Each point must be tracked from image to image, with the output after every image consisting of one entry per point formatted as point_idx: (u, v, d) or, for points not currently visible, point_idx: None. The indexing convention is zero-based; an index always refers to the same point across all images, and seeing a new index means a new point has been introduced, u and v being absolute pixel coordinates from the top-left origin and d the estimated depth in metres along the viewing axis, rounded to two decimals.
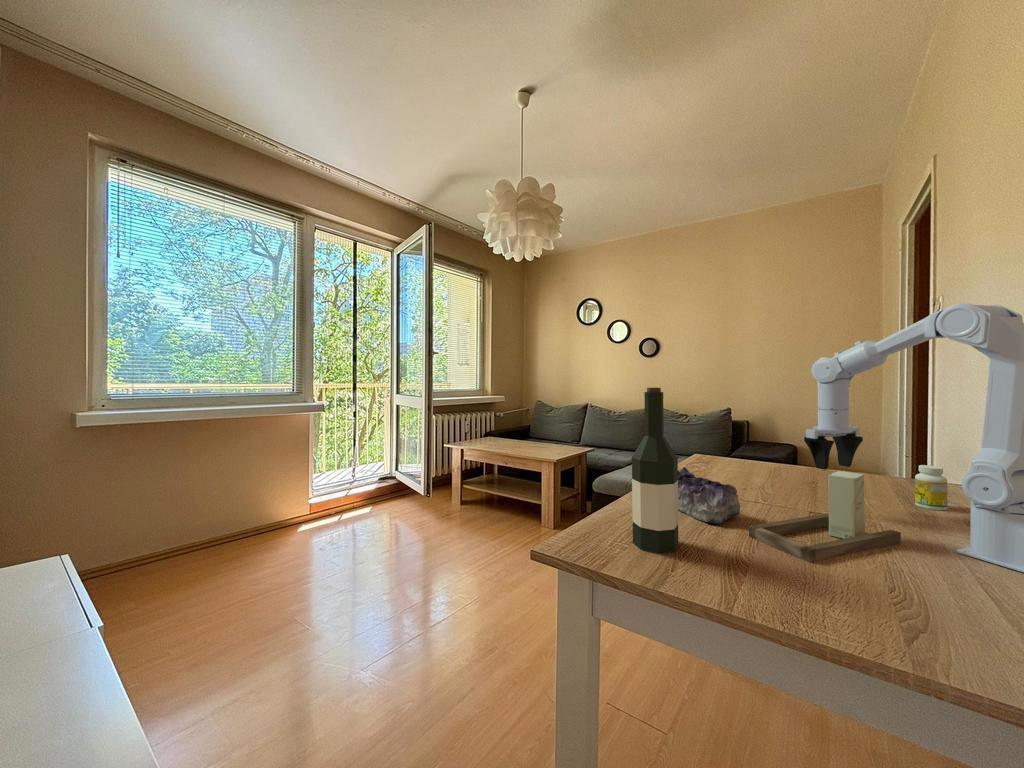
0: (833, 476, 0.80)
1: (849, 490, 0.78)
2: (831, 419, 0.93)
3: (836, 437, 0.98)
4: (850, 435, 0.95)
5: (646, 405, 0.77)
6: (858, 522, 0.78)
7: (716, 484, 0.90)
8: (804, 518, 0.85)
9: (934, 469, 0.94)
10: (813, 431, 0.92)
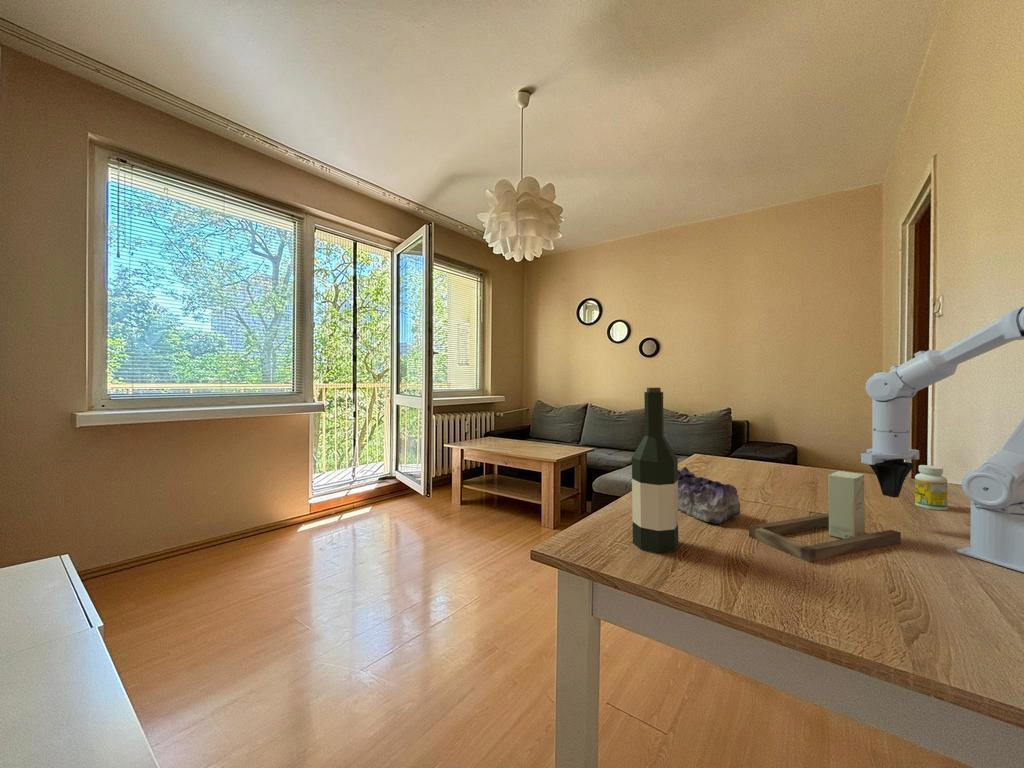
0: (833, 476, 0.80)
1: (849, 490, 0.78)
2: (890, 442, 0.82)
3: None
4: None
5: (646, 405, 0.77)
6: (858, 522, 0.78)
7: (716, 484, 0.90)
8: (804, 518, 0.85)
9: (934, 469, 0.94)
10: (870, 456, 0.81)
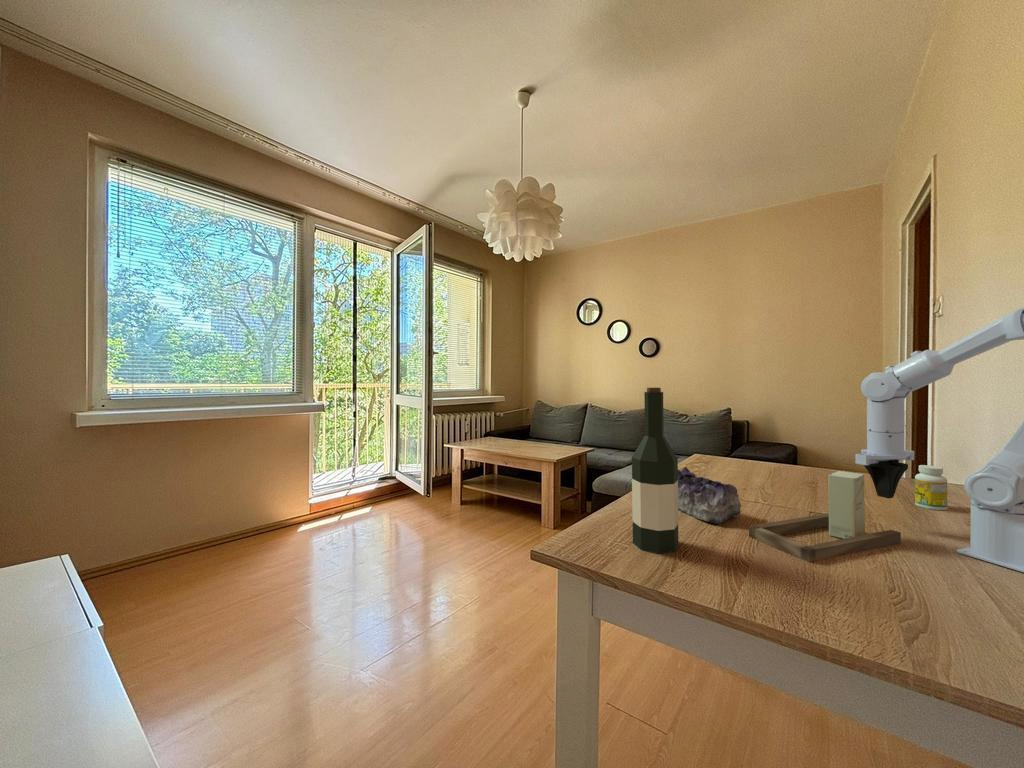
0: (833, 476, 0.80)
1: (849, 490, 0.78)
2: (884, 442, 0.82)
3: None
4: None
5: (646, 405, 0.77)
6: (858, 522, 0.78)
7: (716, 484, 0.90)
8: (804, 518, 0.85)
9: (934, 469, 0.94)
10: (864, 457, 0.81)
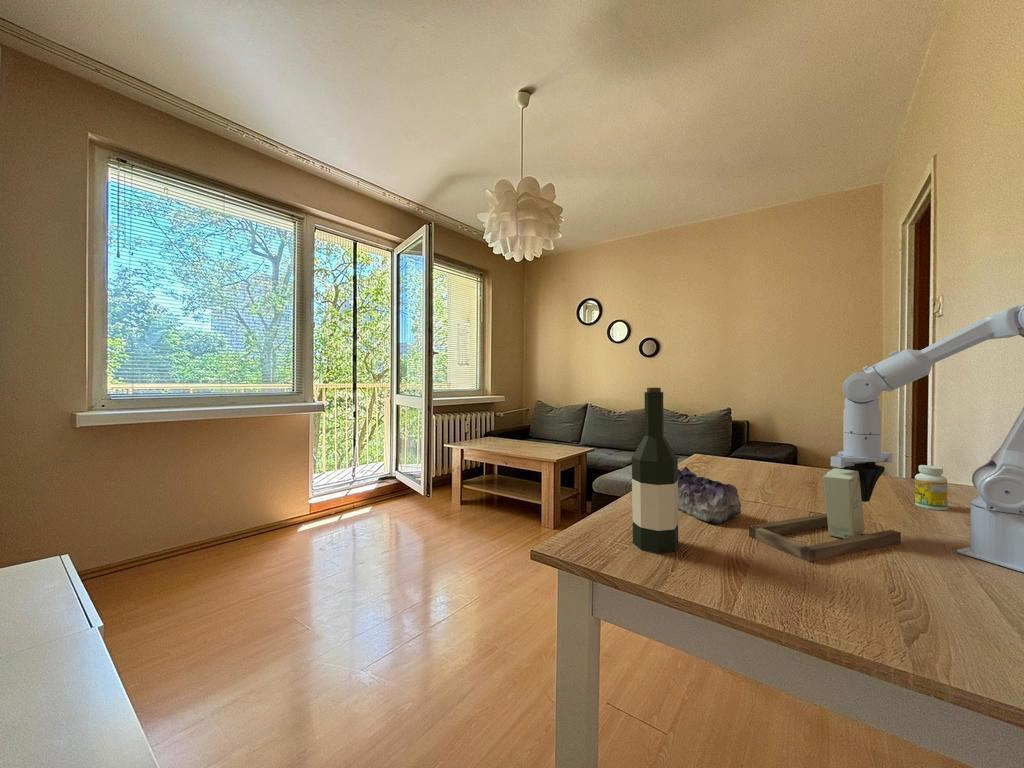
0: (828, 477, 0.79)
1: (845, 491, 0.77)
2: (860, 444, 0.80)
3: None
4: None
5: (646, 405, 0.77)
6: (857, 521, 0.78)
7: (717, 484, 0.90)
8: (804, 518, 0.85)
9: (934, 469, 0.94)
10: (839, 459, 0.79)
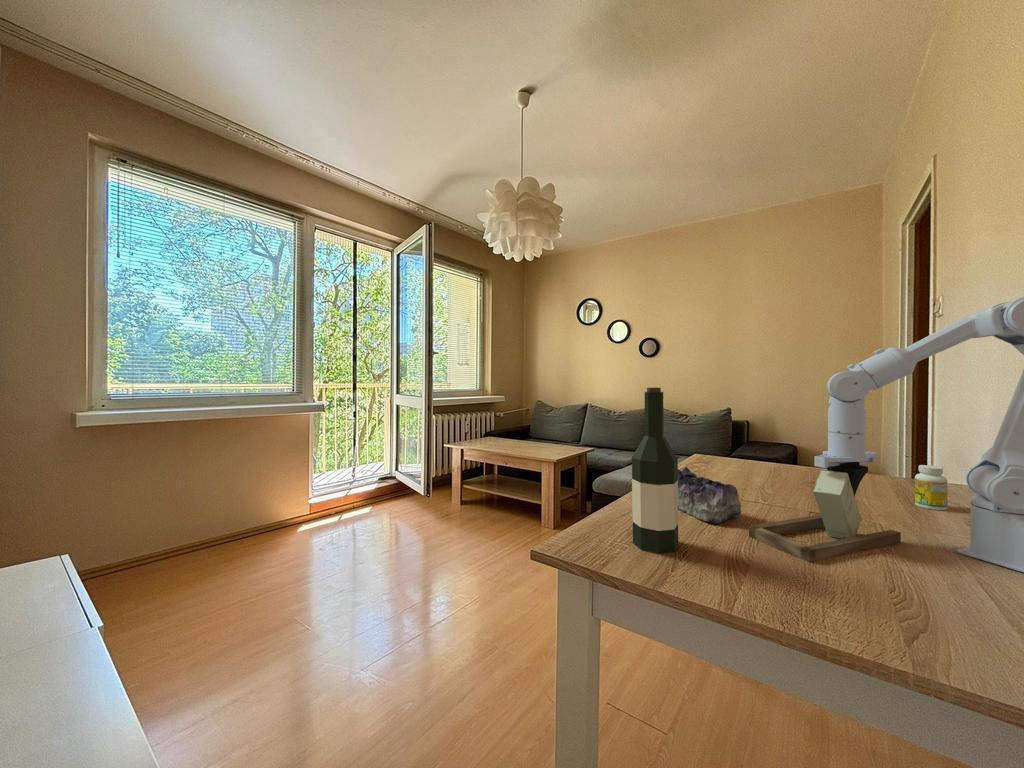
0: (818, 492, 0.76)
1: (837, 504, 0.75)
2: (844, 444, 0.78)
3: None
4: None
5: (646, 405, 0.77)
6: (853, 522, 0.77)
7: (716, 484, 0.90)
8: (804, 518, 0.85)
9: (934, 469, 0.94)
10: (823, 459, 0.77)
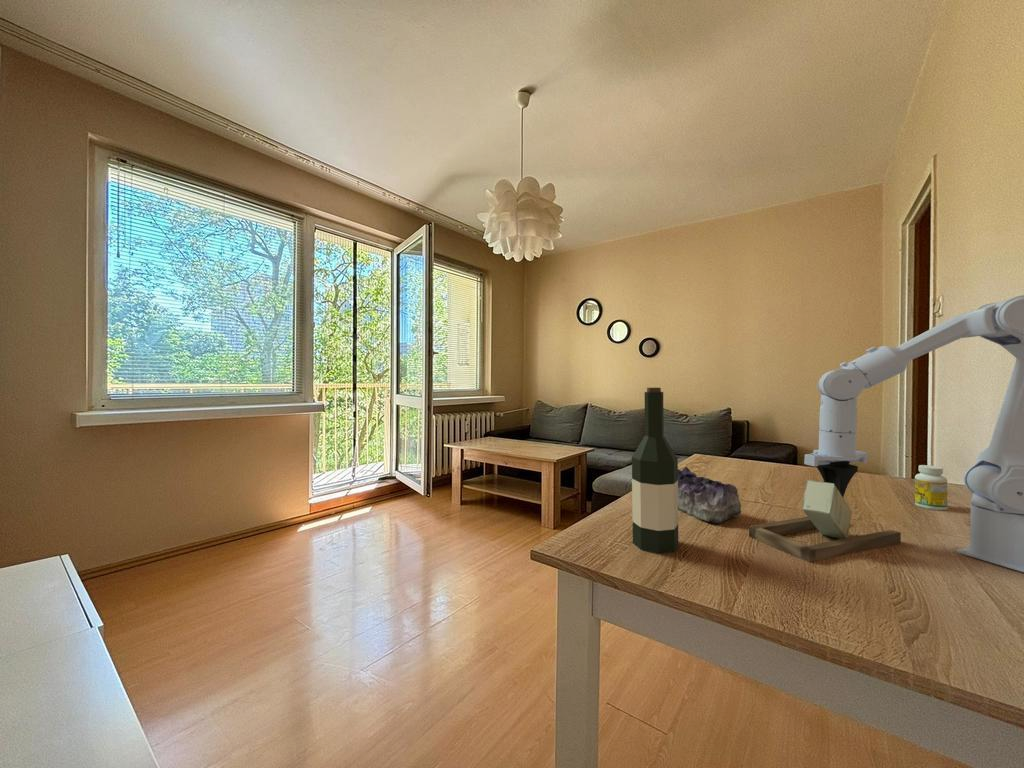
0: (807, 510, 0.75)
1: (827, 518, 0.74)
2: (835, 443, 0.77)
3: None
4: None
5: (646, 405, 0.77)
6: (844, 524, 0.77)
7: (717, 484, 0.90)
8: (804, 518, 0.85)
9: (934, 469, 0.94)
10: (813, 457, 0.77)
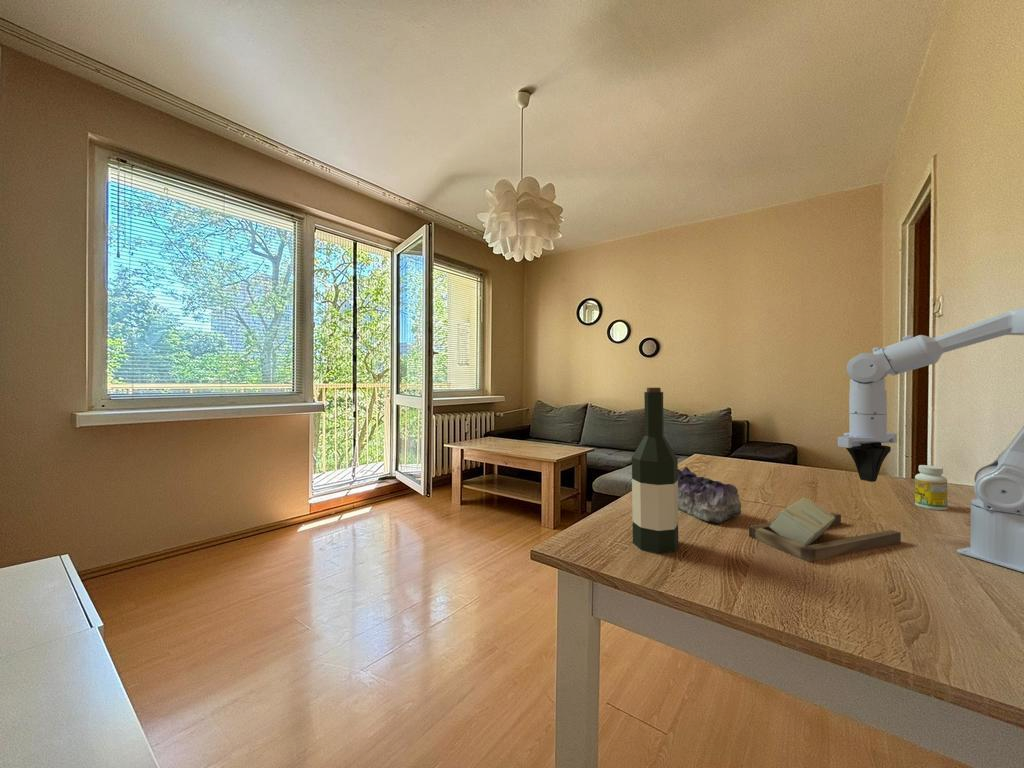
0: None
1: (816, 534, 0.74)
2: (867, 424, 0.80)
3: None
4: None
5: (646, 405, 0.77)
6: (820, 514, 0.79)
7: (717, 484, 0.90)
8: None
9: (934, 469, 0.94)
10: (847, 439, 0.79)
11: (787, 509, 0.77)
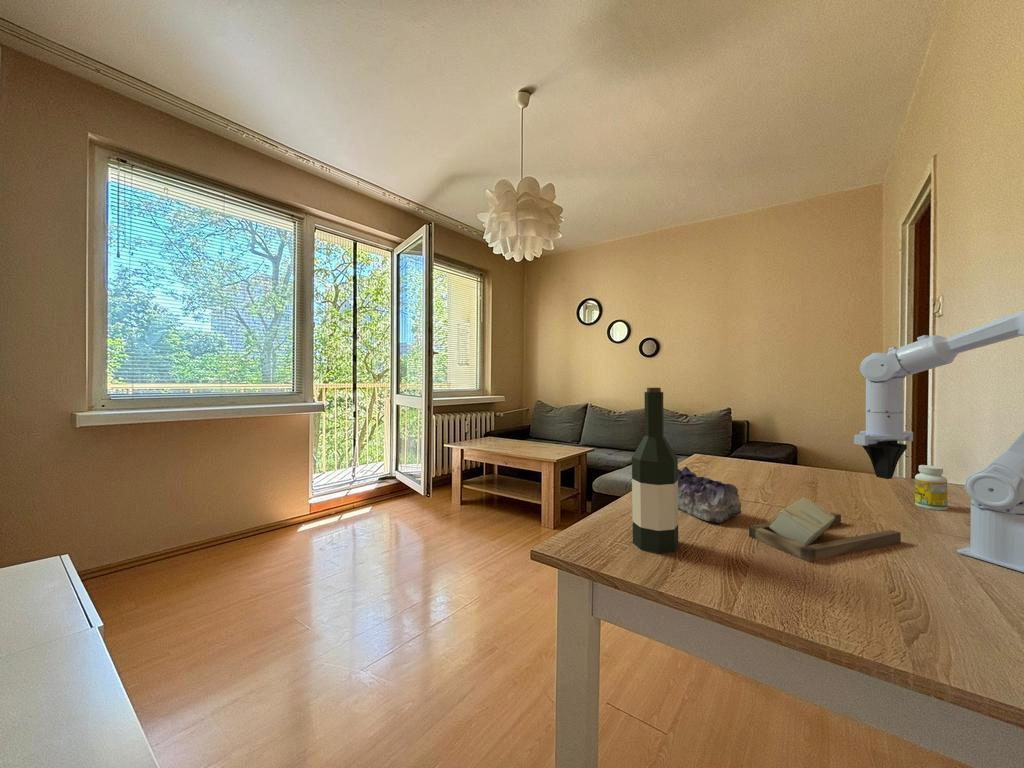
0: None
1: (816, 534, 0.74)
2: (883, 423, 0.81)
3: None
4: None
5: (646, 405, 0.77)
6: (820, 514, 0.79)
7: (717, 483, 0.91)
8: None
9: (934, 469, 0.94)
10: (863, 437, 0.81)
11: (787, 509, 0.77)
